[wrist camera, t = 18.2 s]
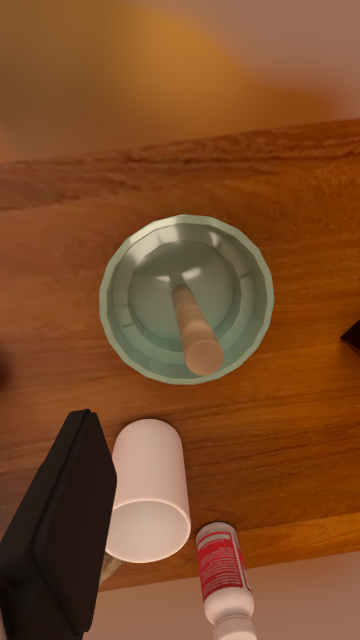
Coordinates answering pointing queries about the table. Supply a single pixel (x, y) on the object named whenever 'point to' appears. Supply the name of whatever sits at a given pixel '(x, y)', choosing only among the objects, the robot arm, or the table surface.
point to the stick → (196, 334)
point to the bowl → (203, 280)
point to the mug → (148, 493)
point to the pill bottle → (225, 583)
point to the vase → (353, 338)
